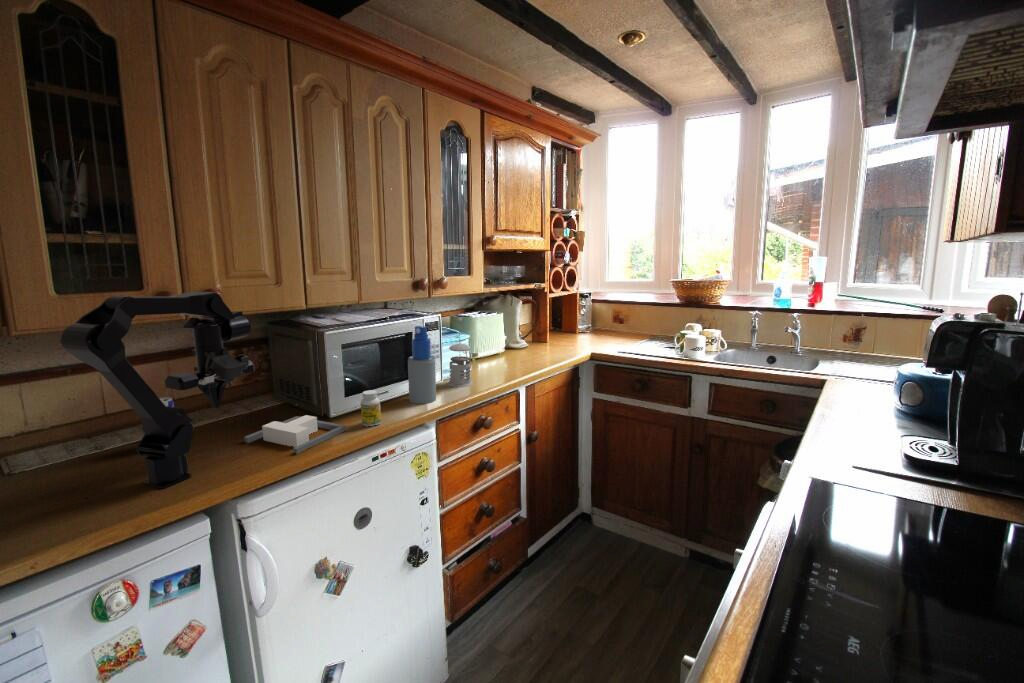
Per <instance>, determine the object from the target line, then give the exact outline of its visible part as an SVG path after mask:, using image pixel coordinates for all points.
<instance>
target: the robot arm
mask: <svg viewBox="0 0 1024 683" xmlns="http://www.w3.org/2000/svg"><path fill="white" fill-rule="evenodd" d="M223 300H224V299H223V298H222V297H221V295H220V293H218V292H212V291H190V292H188V291H187V292H183V293H180V294H178V295H173V296H130V295H111V296H109V297H107V298H106V299H104V300H103V302H102V303H101V304H99V306H97V307H95V308H94V309H92V310H90V311H88V312H87V313H85V314H84V315H82V316H81V317H79V318H78V320H77V321H76V322H74V323H72V324H70V325H69V326H67V327H66V328H65V329H64V330H63V332H61V337H60V338H61V339H60V340H59V342H60V344H61V346H62V348H63V349H64V350H65V351H66V352H68V353H69V354H71V355H72V356H73V357H74V358H76V359H77V360H78V361H80V362H82V363H85V365H88V366H91V367H92V368H94V369H95V370H97V371H98V372H99V373H100V374H101V375H102V376H103V378H105V380H107V382H108V383H109V384H110V385H111V386H112V387H113V389H115V391H116V392H117V393H118V394H119V395H120V396H121V398H123V400H124V401H126V403H127V404H128V405H129V407H131V408H132V410H133V411H134V413H136V414H137V415H138V416H139V417H140V419H141V429H142V431H143V433H144V435H143V437H142V438H141V439H140V441H139V442H138V444H137V445H136V447H135V451H136V452H137V454H138V455H139V456H142V457H143V456H145V458H144V460H145V467H146V473H147V479H145V480H143V483H144V484H145V485H148V486H152V487H155V488H158V489H161V490H162V489H166V488H169V487H170V486H172V485H175V484H177V483H180V482H182V481H184V480H186V479H189V478H191V477H192V475H193V474H192V473H190V472H189V465H188V464H189V463H188V457H187V454H188V453H189V452H190V449H191V444H192V438H193V433H194V432H193V431H194V430H195V428H194V425H193V423H192V422H194V420H193V419H192V418H191V417H189V416H188V414H187V413H186V410H184V409H183V408H182V407H175V406H174V407H168V406H165V405H164V403H163V402H162V401H161V400H160V399H159V398H160V397H159V396H158V395H157V394H156V393H155V391H154V390H153V389H152V388H151V387H150V385H149V384H148V383H147V382H146V381H145V379H144V378H143V377H142V376H141V374H140V373H139V372H138V371H137V370H136V369H135V368H134V366H133V365H132V364H131V362H129V360H128V359H127V357H126V346H125V343H124V342H123V340H122V339H123V338H124V337H126V335H127V334H128V333H129V331H130V328H131V324H132V323H133V322H132V321H133V319H134V318H135V317H136V316H146V315H148V316H151V315H152V316H153V315H172V314H176V315H177V314H178V315H179V314H180V315H185V316H190V318H189V320H188V321H187V322H186V323H184V324H183V326H182V327H183V329H186V330H187V329H188V330H189V329H190V330H192V334H193V342H194V348H193V349H191V355H195V360H196V365H195V366H193V372H196V373H191V372H186V371H180V372H176V373H173V374H168V375H167V376H166V377H165V379H164V383H165V388H167V389H171V390H175V391H176V390H177V391H186V390H191V389H193V388H198V390H200V392H201V393H202V394H203V395H204V396H205V398H206V399H207V401H208V402H209V404H210V405H211V406H212V408H213V409H218V408H220V406H221V402H222V399H223V396H224V393H225V390H226V387H227V386H228V384H229V383H231V382H232V381H234V380H235V378H241V377H242V375H246V374H249V373H253V372H255V364H254V363H253V362H252V360H250V359H249V358H248V355H246V354H244V353H243V354H238V355H236V356H230V353H229V350H228V348H227V347H224V342H228V341H232V340H233V341H234V340H237V339H241V338H245V337H248V336H249V335H250V333H251V331H252V326H251V325H252V324H250V321H249V320H248V319H247V318H246V317H245V316H244V314H243V311H239V310H234V311H231V309H230V308H229V307H228V305H227V304H226V303H225V302H224V301H223ZM191 316H192V317H191ZM198 317H200V318H202V319H200V318H198ZM162 444H165V445H168V446H164V445H162Z"/></svg>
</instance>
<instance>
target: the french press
mask: <svg viewBox="0 0 1024 683" xmlns="http://www.w3.org/2000/svg"><path fill="white" fill-rule="evenodd" d="M456 321H457V322H458V328H459V329H458V333H459V336H458V337H459V338H458V339H459V343H455V344H452V345H450V346H449V347H448V349H449V350H450V351H452V352H462V353H463V354H465V356H461V355H460V356H459V355H456V356H452V357H450V361H449V381H448V382H447V384H446V385H447V386H449V387H452V388H465V387H467V388H468V387H471V386H473V385H474V382H473V381H472V379H471V377H472V376H471V360H472V359H471V352H470V350H471V348H472V347H470V346H469V345H468V344H465V343H462V342H461V327H460V326H461V322H462V321H463V319H462V318H461V317H458V318H457V319H456ZM467 353H469V357H468V355H467Z"/></svg>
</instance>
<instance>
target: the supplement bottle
mask: <svg viewBox="0 0 1024 683" xmlns="http://www.w3.org/2000/svg"><path fill="white" fill-rule="evenodd" d="M362 397H363V398H362V399H361V400H360V408H361V409H360V411H361V424H362V426H364V427H368V426H372V427H375V426H374V425H377V426H379V425H380V424H381V423H382V415H381V400H380V398H379V397H378V392H377V390H376V389H375V390H373V389H372V390H371V389H370V390H364V391H362ZM378 424H379V425H378Z"/></svg>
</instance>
